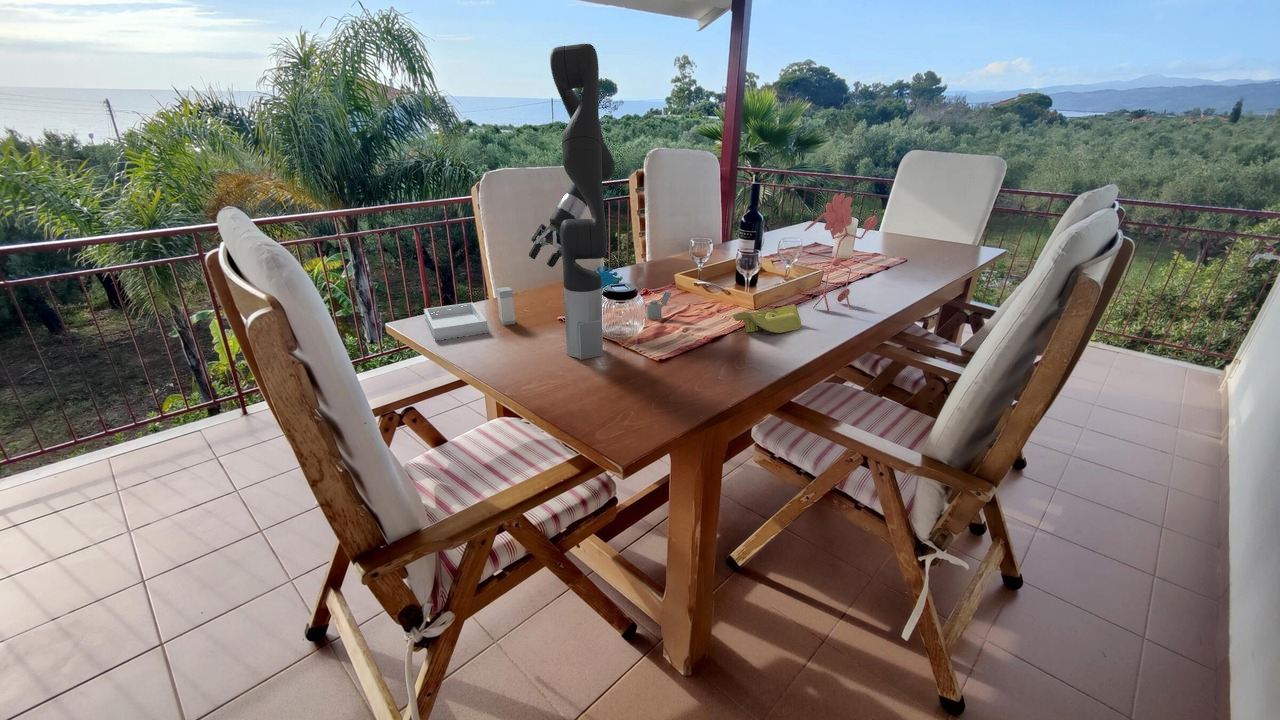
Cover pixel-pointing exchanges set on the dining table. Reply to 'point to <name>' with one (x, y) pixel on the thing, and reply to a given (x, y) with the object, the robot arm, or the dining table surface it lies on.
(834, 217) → the pink flower stick figure
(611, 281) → the blue irregular piece
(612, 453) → the dining table surface
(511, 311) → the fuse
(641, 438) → the dining table surface
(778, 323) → the plastic component
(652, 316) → the lighter
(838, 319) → the dining table surface
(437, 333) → the parts tray
